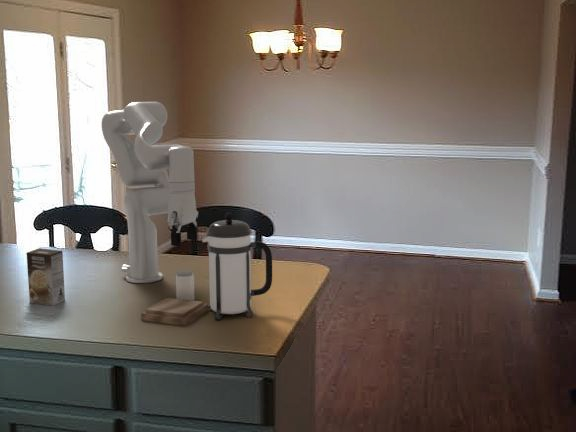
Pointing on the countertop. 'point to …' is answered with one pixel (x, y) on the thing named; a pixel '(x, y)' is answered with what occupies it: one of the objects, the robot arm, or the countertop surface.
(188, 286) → the canister
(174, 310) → the plinth
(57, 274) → the coffee box
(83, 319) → the countertop surface
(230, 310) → the coffee press
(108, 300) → the countertop surface
